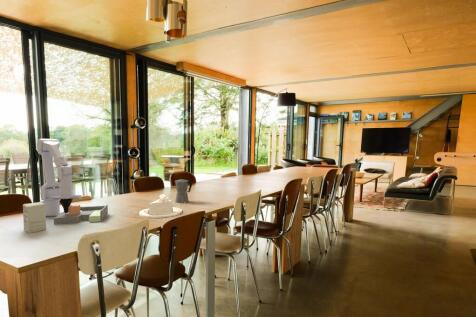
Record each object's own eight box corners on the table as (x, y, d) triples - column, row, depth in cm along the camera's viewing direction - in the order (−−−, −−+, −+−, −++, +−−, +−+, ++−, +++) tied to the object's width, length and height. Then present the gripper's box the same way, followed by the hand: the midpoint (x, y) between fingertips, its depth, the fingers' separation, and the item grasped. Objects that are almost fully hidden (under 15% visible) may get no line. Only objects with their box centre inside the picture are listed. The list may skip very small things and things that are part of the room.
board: (53, 224, 147) (53, 213, 147) (64, 216, 162) (64, 206, 162) (102, 221, 153) (101, 211, 152) (107, 214, 168) (107, 204, 168)
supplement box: (41, 226, 142) (40, 201, 141) (46, 229, 137) (45, 203, 137) (23, 230, 136) (22, 204, 136) (28, 233, 132) (27, 206, 131)
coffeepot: (170, 202, 203) (170, 176, 202) (179, 199, 211) (178, 175, 210) (187, 204, 196) (187, 178, 195) (196, 201, 204) (196, 176, 203)
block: (68, 215, 154) (68, 206, 153) (71, 213, 158) (71, 204, 158) (78, 214, 155) (77, 206, 154) (80, 212, 159) (80, 204, 159)
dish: (161, 207, 189) (161, 190, 188) (190, 211, 176) (190, 193, 175) (129, 214, 167) (129, 195, 167) (160, 221, 155) (160, 200, 154)
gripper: (47, 189, 149) (48, 215, 150) (78, 188, 152) (79, 213, 153) (52, 187, 156) (53, 212, 156) (82, 186, 159) (82, 210, 160)
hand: (66, 212), depth 155 cm, fingers closed
